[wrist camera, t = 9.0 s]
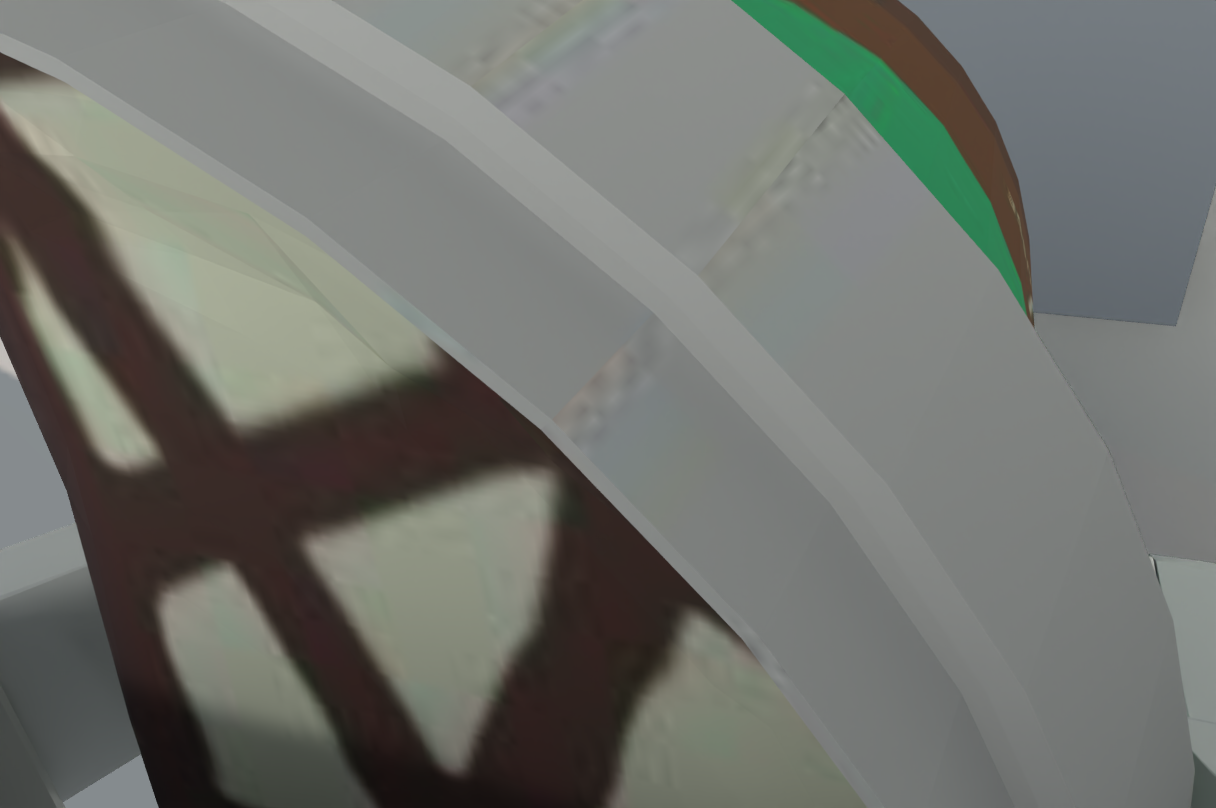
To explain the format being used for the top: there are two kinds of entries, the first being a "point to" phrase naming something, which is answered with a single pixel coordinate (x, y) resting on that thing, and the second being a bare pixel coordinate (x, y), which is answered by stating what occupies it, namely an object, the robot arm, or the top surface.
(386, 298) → the food container
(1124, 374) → the top surface
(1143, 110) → the slate mat
